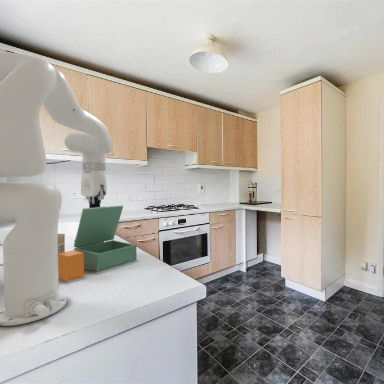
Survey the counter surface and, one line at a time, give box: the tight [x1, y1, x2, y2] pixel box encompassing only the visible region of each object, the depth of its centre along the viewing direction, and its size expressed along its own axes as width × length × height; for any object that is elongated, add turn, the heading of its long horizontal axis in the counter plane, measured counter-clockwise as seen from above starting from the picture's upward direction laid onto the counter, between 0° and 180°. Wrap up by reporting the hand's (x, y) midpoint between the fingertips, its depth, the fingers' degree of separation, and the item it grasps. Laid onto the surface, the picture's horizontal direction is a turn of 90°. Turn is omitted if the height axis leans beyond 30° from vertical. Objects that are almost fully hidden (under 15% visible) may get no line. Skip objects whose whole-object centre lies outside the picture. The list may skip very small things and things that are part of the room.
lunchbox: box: [73, 239, 137, 272], centre depth 90 cm, size 16×15×7 cm
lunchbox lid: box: [73, 205, 124, 248], centre depth 92 cm, size 16×15×4 cm
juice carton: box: [58, 249, 85, 282], centre depth 76 cm, size 6×4×8 cm
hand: (94, 213), depth 93 cm, fingers closed
